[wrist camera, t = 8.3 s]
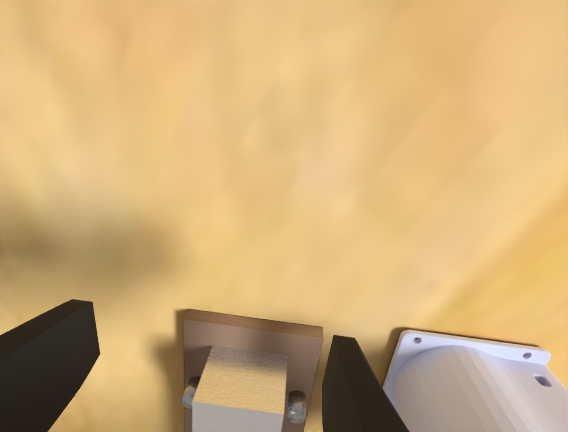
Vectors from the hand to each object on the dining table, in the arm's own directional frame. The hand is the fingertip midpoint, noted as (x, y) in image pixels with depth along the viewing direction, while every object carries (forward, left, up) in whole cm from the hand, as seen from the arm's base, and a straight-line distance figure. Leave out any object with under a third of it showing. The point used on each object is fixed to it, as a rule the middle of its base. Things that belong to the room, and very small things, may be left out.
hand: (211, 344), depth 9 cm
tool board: (0, +17, -9) cm, 19 cm away
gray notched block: (0, +17, -8) cm, 19 cm away
